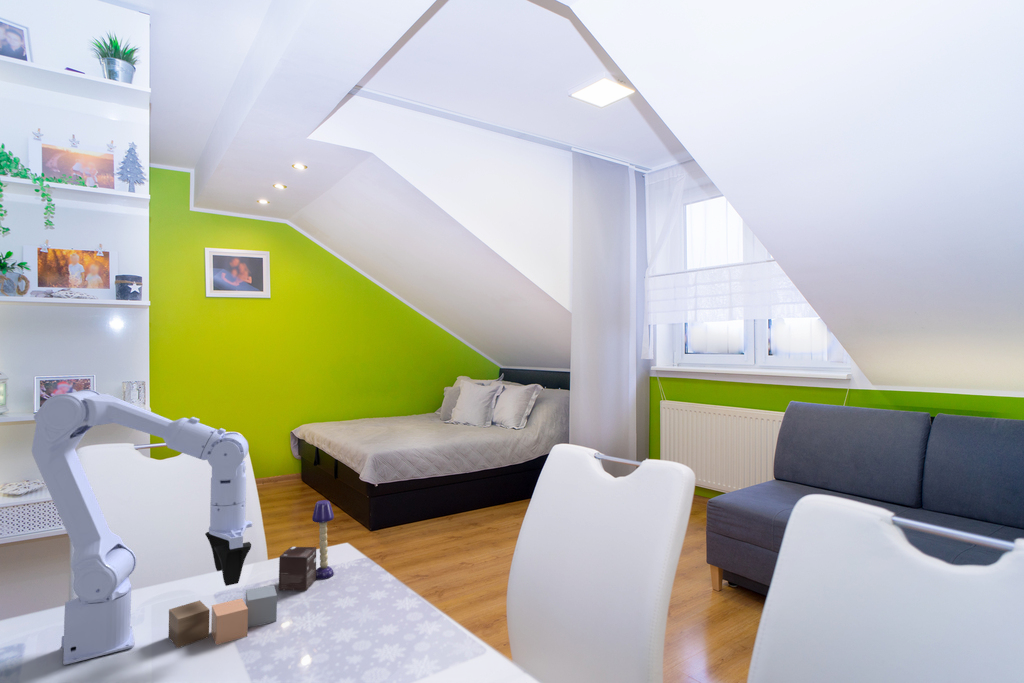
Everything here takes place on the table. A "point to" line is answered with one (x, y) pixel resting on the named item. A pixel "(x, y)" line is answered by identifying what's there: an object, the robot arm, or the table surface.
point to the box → (297, 568)
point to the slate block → (261, 605)
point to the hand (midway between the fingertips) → (227, 576)
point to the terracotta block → (229, 621)
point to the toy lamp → (323, 536)
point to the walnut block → (188, 623)
